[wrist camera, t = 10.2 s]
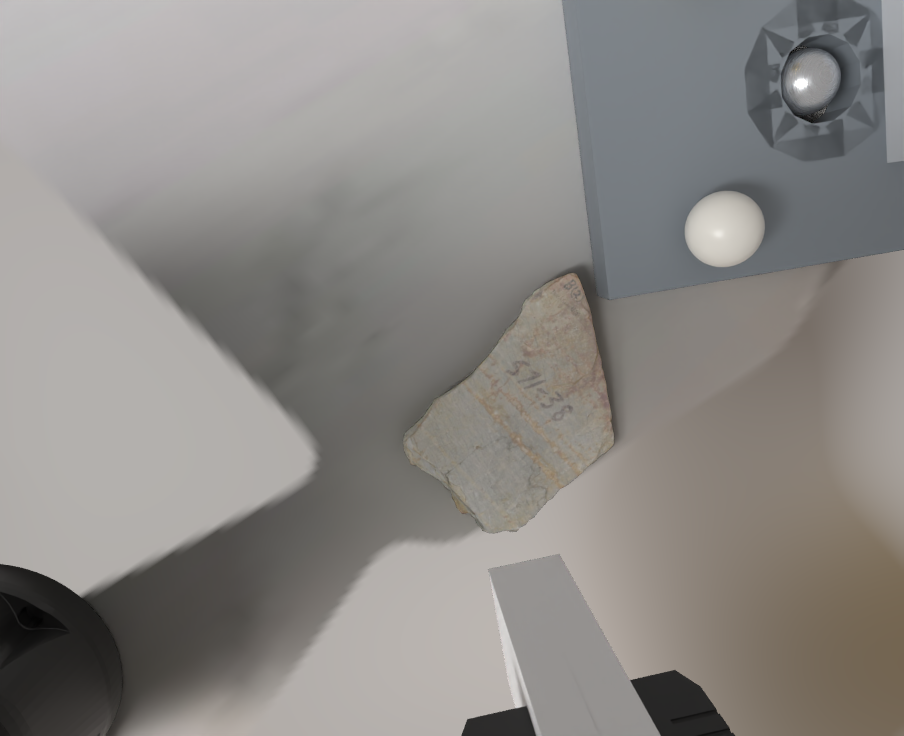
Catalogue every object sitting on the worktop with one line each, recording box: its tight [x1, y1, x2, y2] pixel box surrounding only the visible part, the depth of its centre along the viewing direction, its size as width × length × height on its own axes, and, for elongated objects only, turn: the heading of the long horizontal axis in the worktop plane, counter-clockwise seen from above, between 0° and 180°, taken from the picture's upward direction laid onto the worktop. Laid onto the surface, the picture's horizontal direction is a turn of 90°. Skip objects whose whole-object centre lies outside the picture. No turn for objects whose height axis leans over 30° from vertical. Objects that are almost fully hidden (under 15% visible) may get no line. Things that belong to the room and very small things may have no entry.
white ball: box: [685, 191, 765, 267], centre depth 39 cm, size 4×4×4 cm
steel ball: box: [781, 48, 841, 116], centre depth 40 cm, size 4×4×4 cm
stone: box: [403, 273, 614, 533], centre depth 43 cm, size 15×11×3 cm
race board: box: [562, 0, 904, 300], centre depth 39 cm, size 18×20×5 cm
